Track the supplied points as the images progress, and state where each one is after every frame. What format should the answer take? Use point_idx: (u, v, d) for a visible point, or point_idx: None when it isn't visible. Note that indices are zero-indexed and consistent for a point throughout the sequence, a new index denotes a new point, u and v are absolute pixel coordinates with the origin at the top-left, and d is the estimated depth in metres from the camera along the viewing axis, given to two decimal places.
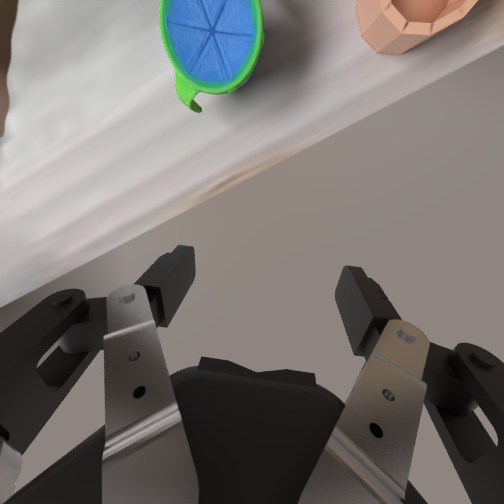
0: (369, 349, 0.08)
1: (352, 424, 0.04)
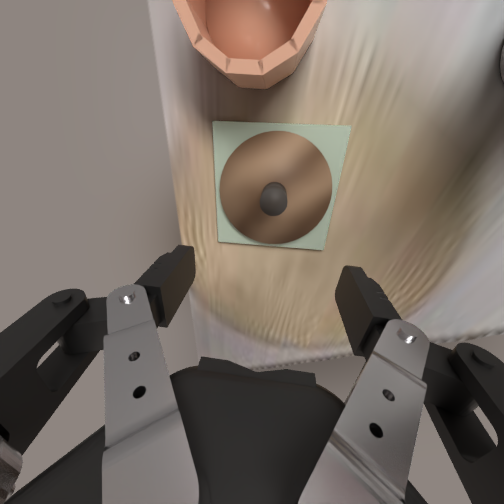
0: (369, 349, 0.08)
1: (352, 424, 0.04)
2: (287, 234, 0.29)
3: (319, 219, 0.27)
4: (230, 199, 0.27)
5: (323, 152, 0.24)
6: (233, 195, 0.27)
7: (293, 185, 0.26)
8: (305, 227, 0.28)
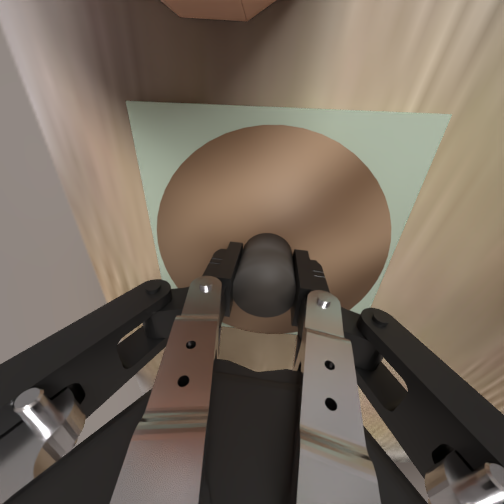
0: (299, 318, 0.09)
1: (352, 424, 0.04)
2: None
3: (355, 300, 0.14)
4: (181, 261, 0.14)
5: (375, 174, 0.11)
6: (186, 254, 0.14)
7: (306, 240, 0.12)
8: None
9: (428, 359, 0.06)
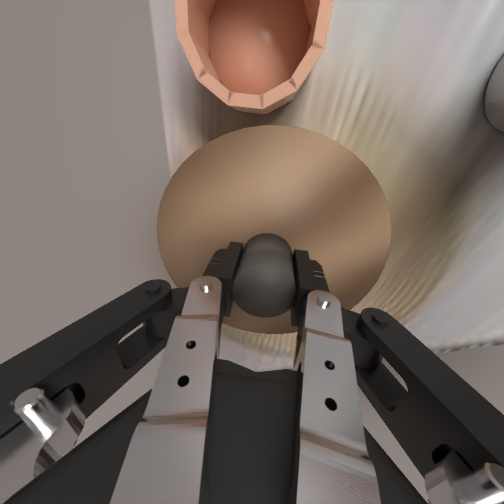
0: (299, 318, 0.09)
1: (352, 424, 0.04)
2: None
3: (355, 301, 0.14)
4: (181, 261, 0.14)
5: None
6: (186, 254, 0.14)
7: (306, 240, 0.12)
8: None
9: (428, 359, 0.06)
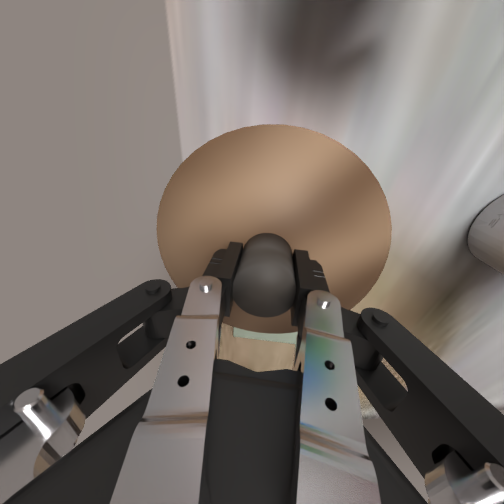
0: (299, 318, 0.09)
1: (352, 424, 0.04)
2: None
3: (355, 300, 0.14)
4: (181, 261, 0.14)
5: None
6: (186, 254, 0.14)
7: (306, 240, 0.12)
8: None
9: (428, 359, 0.06)
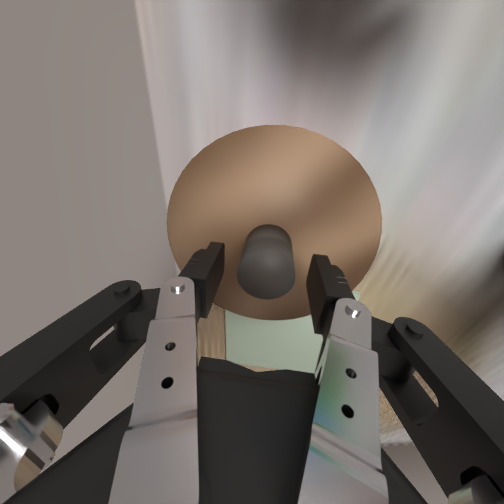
0: (325, 326, 0.09)
1: (352, 424, 0.04)
2: (291, 307, 0.16)
3: (350, 288, 0.15)
4: (189, 251, 0.15)
5: None
6: (193, 244, 0.15)
7: (304, 231, 0.13)
8: None
9: (466, 377, 0.06)
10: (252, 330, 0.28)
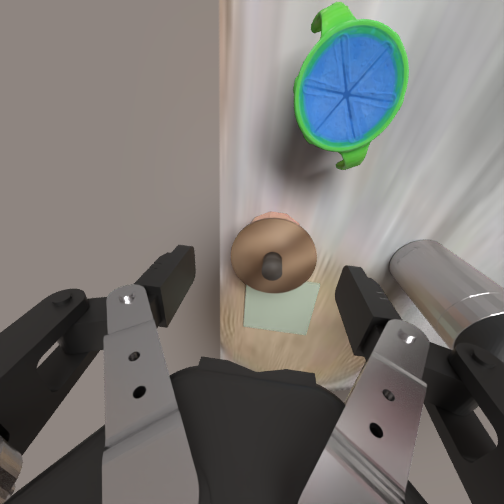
0: (369, 349, 0.08)
1: (352, 424, 0.04)
2: (282, 287, 0.37)
3: (306, 278, 0.35)
4: (238, 261, 0.35)
5: (305, 293, 0.45)
6: (241, 258, 0.35)
7: (287, 255, 0.34)
8: (295, 283, 0.36)
9: None
10: (260, 305, 0.48)
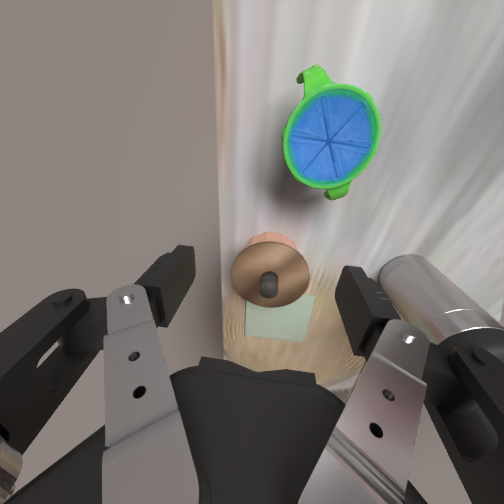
0: (369, 349, 0.08)
1: (352, 424, 0.04)
2: (279, 302, 0.40)
3: (301, 294, 0.38)
4: (238, 279, 0.38)
5: (302, 304, 0.48)
6: (240, 277, 0.38)
7: (282, 273, 0.37)
8: (291, 298, 0.39)
9: None
10: (260, 316, 0.51)
